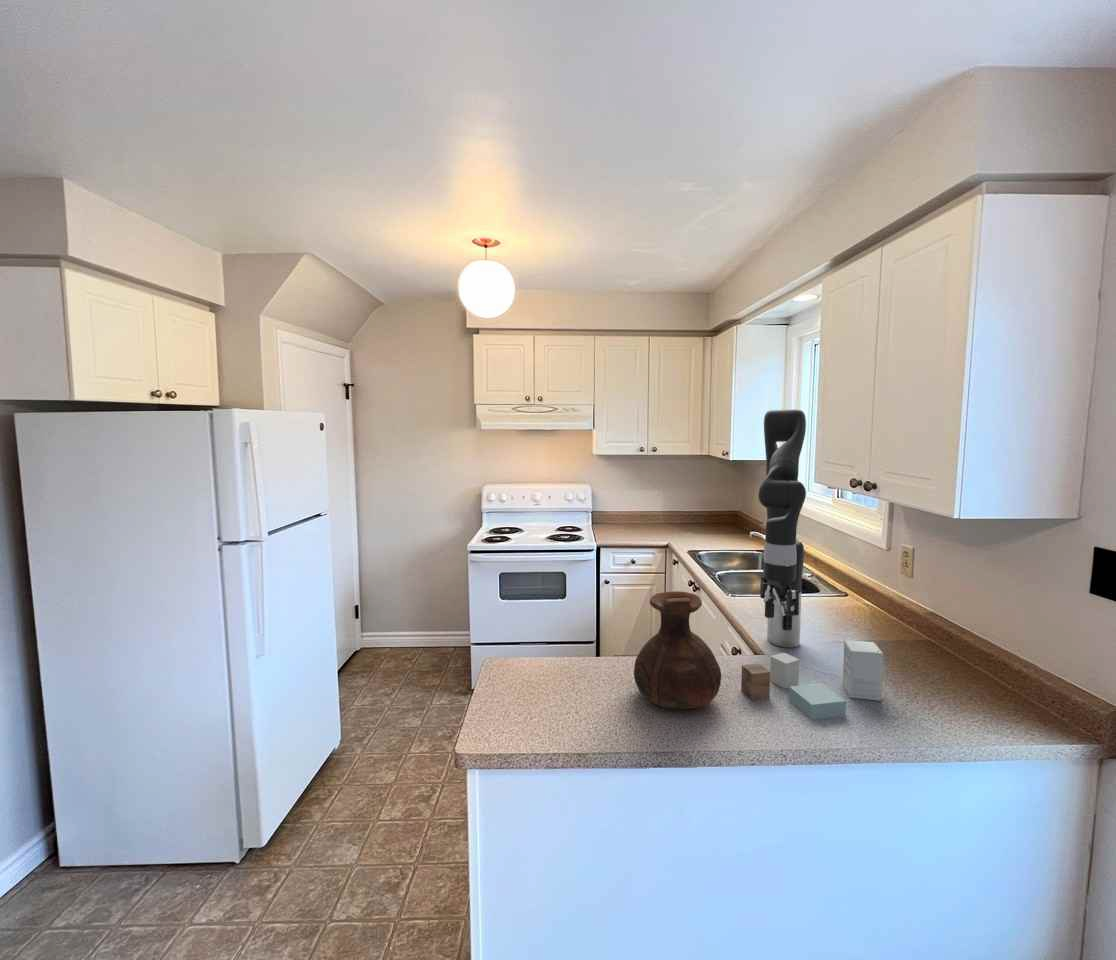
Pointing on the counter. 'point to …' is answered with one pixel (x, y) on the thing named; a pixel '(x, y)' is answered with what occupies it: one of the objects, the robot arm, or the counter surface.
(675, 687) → the brown vase
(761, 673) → the walnut block
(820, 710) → the pedestal block
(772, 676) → the grey block
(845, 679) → the supplement box
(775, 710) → the counter surface
